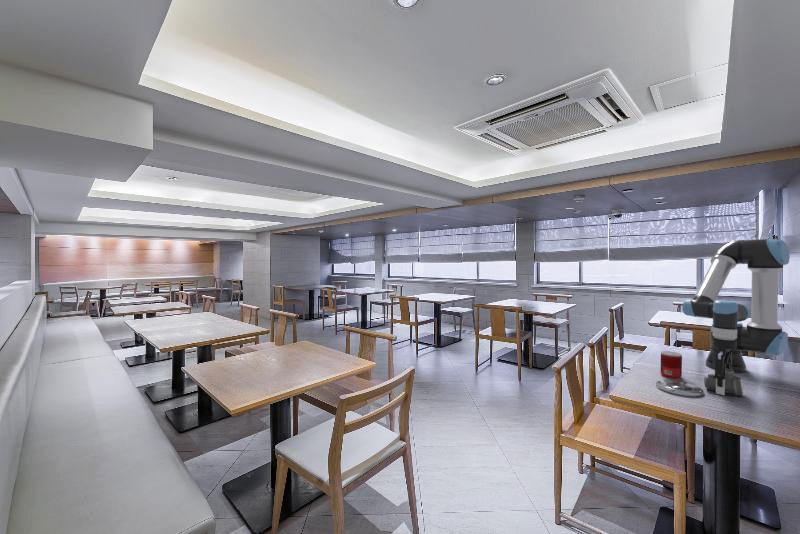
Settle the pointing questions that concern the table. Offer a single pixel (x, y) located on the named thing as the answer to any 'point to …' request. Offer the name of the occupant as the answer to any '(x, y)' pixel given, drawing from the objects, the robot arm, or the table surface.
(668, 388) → the duct flange
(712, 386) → the pipe fitting
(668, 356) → the canned food
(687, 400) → the table surface
